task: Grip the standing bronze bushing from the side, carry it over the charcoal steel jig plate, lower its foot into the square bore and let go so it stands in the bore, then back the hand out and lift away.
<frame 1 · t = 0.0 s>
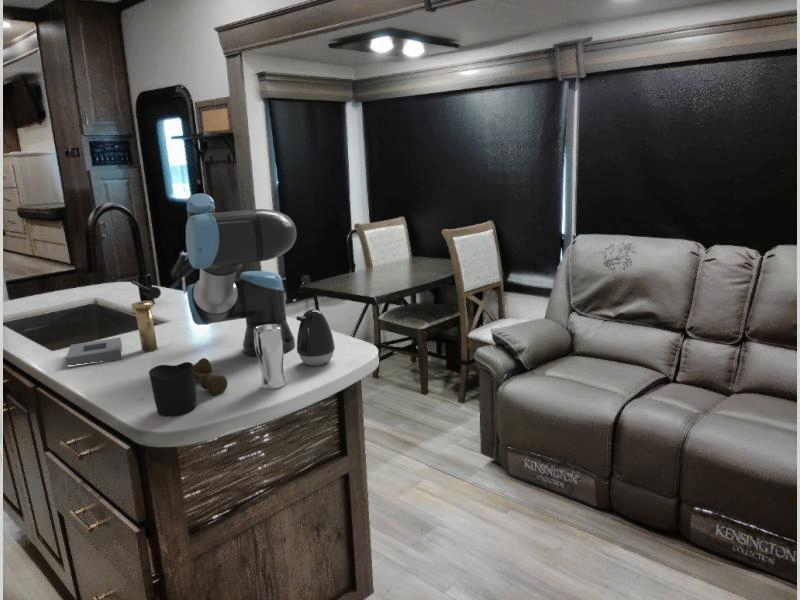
hand: (206, 287, 193), 15 cm above the countertop, tool tilted 35°, fingers open, 13 cm apart
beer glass: (273, 385, 147), on the countertop
pen holder: (177, 410, 136), on the countertop
bushing: (149, 349, 182), on the countertop
pump dispenser: (317, 363, 162), on the countertop
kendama: (199, 387, 150), on the countertop
jig: (96, 356, 178), on the countertop
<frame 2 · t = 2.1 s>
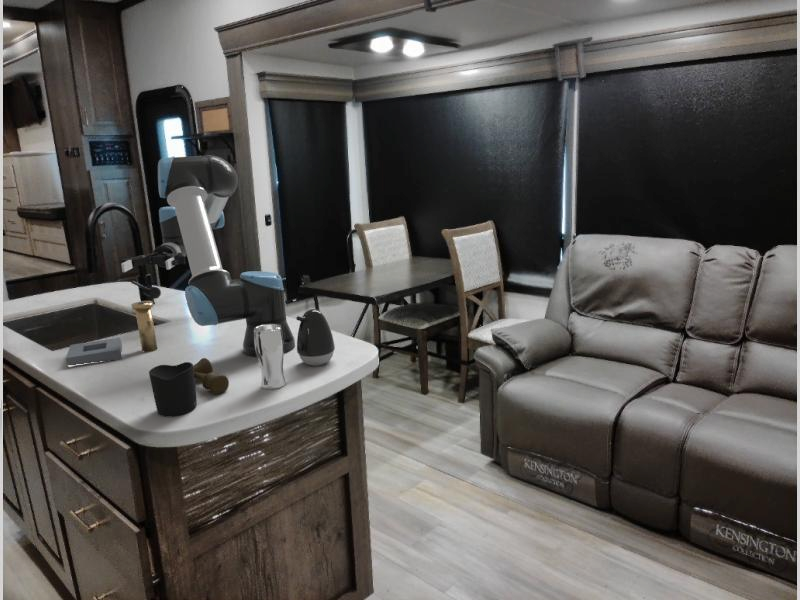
hand: (145, 266, 184), 24 cm above the countertop, tool horizontal, fingers open, 13 cm apart
nothing on the countertop moved.
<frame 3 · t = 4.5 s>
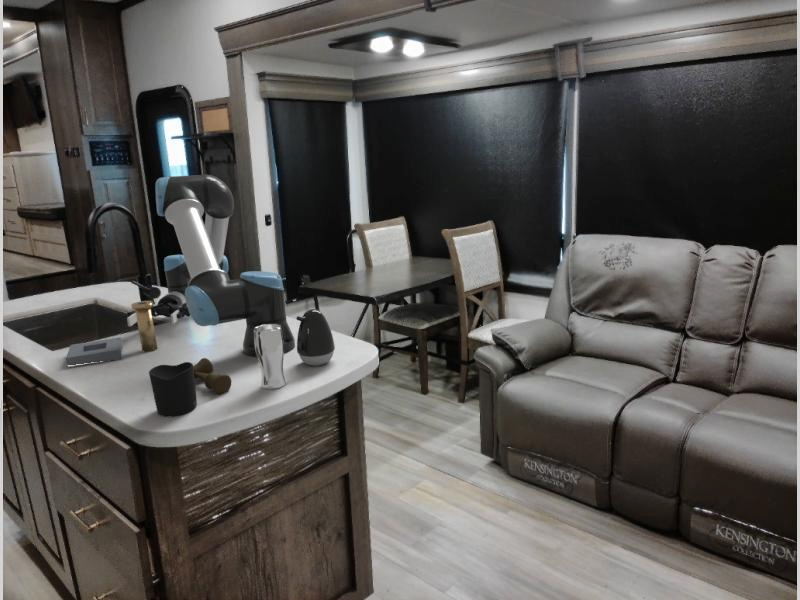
hand: (150, 320, 186), 7 cm above the countertop, tool horizontal, fingers open, 13 cm apart
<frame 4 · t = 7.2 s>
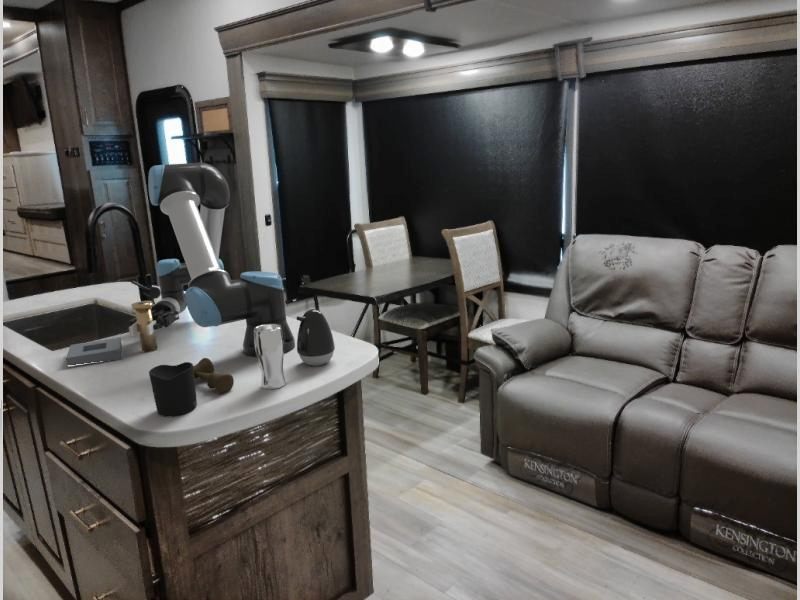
hand: (139, 331, 175), 8 cm above the countertop, tool horizontal, fingers closed on bushing, 4 cm apart
bushing: (149, 349, 182), on the countertop, touching gripper
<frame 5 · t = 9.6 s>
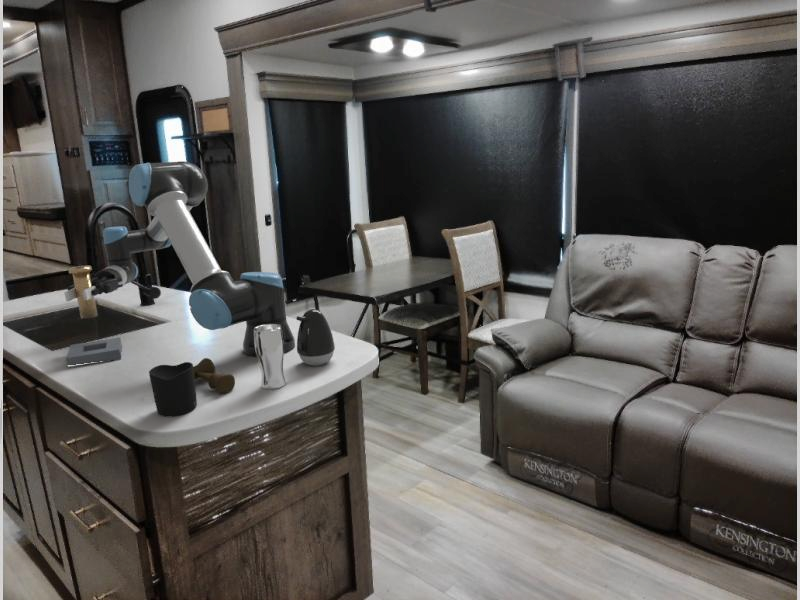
hand: (75, 296, 168), 20 cm above the countertop, tool horizontal, fingers closed on bushing, 4 cm apart
bushing: (89, 316, 175), point 13 cm above the countertop, touching gripper
when the fingers open (9 cm above the countertop, at t = 12.4 s): bushing drops 1 cm, resting in jig.
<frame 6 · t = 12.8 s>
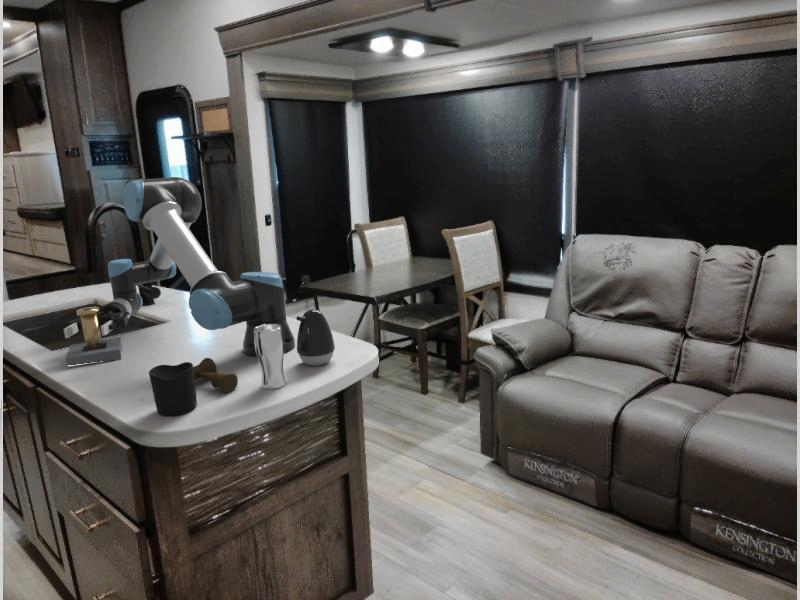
hand: (84, 332, 171), 9 cm above the countertop, tool horizontal, fingers open, 10 cm apart
bushing: (96, 356, 178), resting in jig
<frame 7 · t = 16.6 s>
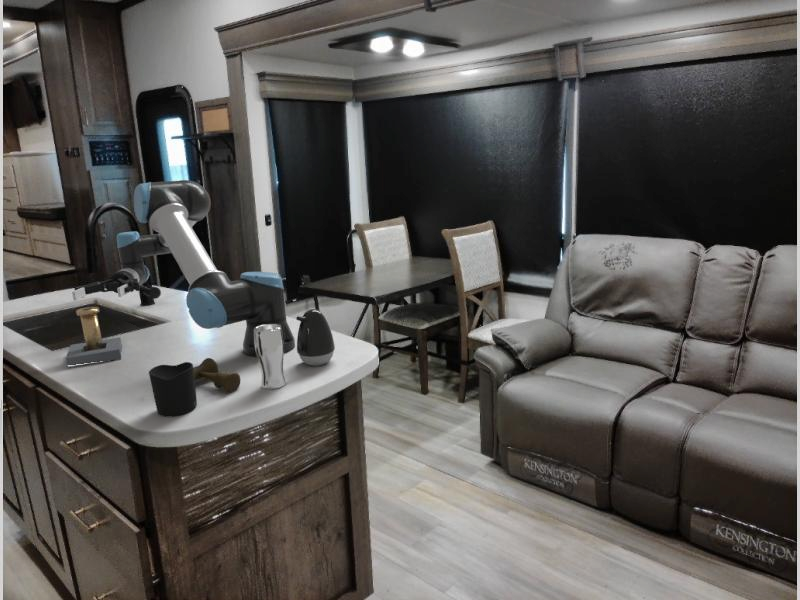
hand: (96, 294, 181), 17 cm above the countertop, tool horizontal, fingers open, 13 cm apart
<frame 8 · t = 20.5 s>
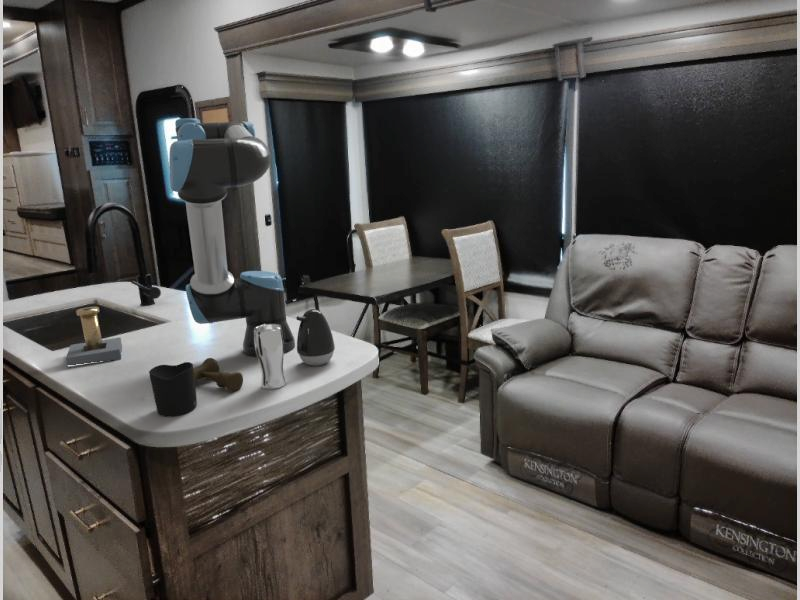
hand: (203, 236, 191), 32 cm above the countertop, tool pointing down, fingers open, 13 cm apart
at the end: bushing 0.1 cm off-centre on the jig, point 0.0 cm above the jig's base; bushing tilted 0°; the gripper is holding nothing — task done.
